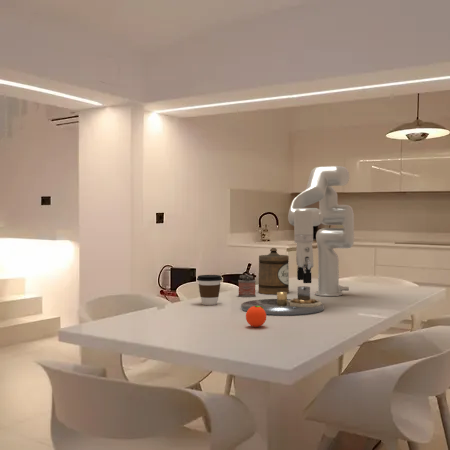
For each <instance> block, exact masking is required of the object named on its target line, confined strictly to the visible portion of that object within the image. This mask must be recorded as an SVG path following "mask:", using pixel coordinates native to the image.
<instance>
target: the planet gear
mask: <svg viewBox="0 0 450 450" xmlns="http://www.w3.org/2000/svg"><path fill="white" fill-rule="evenodd" d="M291 299H292V303H301V304H305V303H315V300H316V299H315V298H312V297H311V287H310V286H309V285H307V286H306V285H304V286H303V285H300V286H297V298H296V297H294V298H291Z"/></svg>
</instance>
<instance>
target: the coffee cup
mask: <svg viewBox="0 0 450 450" xmlns="http://www.w3.org/2000/svg"><path fill="white" fill-rule="evenodd" d="M196 280H197V282H198V289H199V295H200V300H201V304H202V305H204V306H214V305H215V306H216V305H217V304H218V301H219V296H220V291H221V290H220V289H221V281H222V280H223V278H222V275H220V274H200V275H198V276H197V278H196Z"/></svg>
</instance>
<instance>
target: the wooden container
mask: <svg viewBox="0 0 450 450" xmlns="http://www.w3.org/2000/svg"><path fill="white" fill-rule="evenodd" d="M269 251H270V253H268V254H264V255H263V254H261V255H258V293H259V294H261V295H275V296H277V292H287V294H289V288H290V287H289V286H290V285H289V284H290V275H289V274H290V272H289V271H290V270H289V269H290V268H289V266H290V265H289V264H290V263H289V262H290V261H289V260H290V259H289V257H290V256H289V255H285V254H279V253H278V249H277V248H276V247H271V248H269Z"/></svg>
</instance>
